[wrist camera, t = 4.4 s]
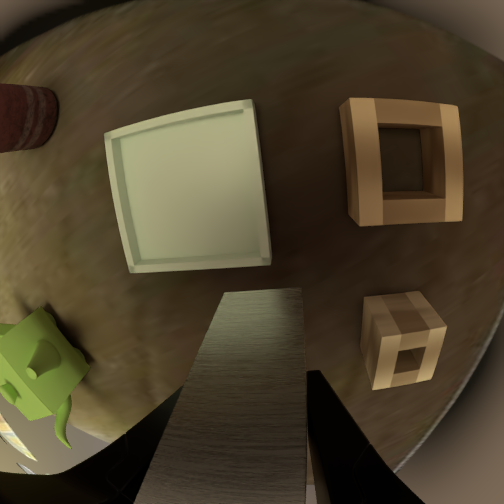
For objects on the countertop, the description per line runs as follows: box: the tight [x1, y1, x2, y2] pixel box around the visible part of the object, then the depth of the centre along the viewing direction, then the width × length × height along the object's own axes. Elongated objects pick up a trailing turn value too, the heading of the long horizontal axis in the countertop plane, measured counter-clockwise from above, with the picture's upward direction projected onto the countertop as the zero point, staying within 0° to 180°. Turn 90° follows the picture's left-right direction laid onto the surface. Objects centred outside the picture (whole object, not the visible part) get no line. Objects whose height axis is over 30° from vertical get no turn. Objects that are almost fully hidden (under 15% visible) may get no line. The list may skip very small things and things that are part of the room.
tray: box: [104, 99, 272, 273], centre depth 19 cm, size 11×11×2 cm
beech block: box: [360, 291, 447, 390], centre depth 19 cm, size 5×5×6 cm
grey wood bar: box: [134, 287, 307, 504], centre depth 7 cm, size 3×3×9 cm
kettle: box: [0, 306, 91, 449], centre depth 23 cm, size 15×14×11 cm
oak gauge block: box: [339, 98, 463, 226], centre depth 16 cm, size 8×8×4 cm
